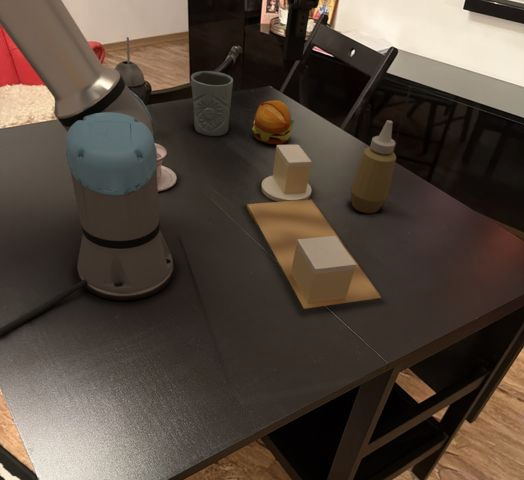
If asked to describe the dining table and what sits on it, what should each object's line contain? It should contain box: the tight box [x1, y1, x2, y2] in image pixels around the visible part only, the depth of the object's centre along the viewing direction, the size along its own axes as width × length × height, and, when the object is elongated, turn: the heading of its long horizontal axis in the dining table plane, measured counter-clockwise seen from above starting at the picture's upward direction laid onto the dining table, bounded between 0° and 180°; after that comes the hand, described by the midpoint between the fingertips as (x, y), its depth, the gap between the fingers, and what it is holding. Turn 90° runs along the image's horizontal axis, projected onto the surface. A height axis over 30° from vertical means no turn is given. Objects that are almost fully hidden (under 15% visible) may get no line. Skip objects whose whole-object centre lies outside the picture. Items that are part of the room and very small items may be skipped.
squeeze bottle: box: [349, 119, 397, 214], centre depth 97 cm, size 8×8×18 cm
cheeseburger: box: [251, 99, 295, 145], centre depth 119 cm, size 10×11×10 cm
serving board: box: [246, 199, 383, 309], centre depth 89 cm, size 32×14×1 cm, turn 18°
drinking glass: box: [190, 70, 234, 137], centre depth 118 cm, size 10×10×12 cm
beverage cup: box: [114, 36, 146, 104], centre depth 109 cm, size 7×7×20 cm
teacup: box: [154, 142, 178, 193], centre depth 100 cm, size 12×12×6 cm
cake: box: [291, 236, 357, 303], centre depth 79 cm, size 8×7×7 cm
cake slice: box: [272, 144, 312, 194], centre depth 102 cm, size 8×5×7 cm, turn 17°
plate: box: [260, 174, 313, 202], centre depth 104 cm, size 11×11×1 cm
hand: (292, 58), depth 73 cm, fingers closed
